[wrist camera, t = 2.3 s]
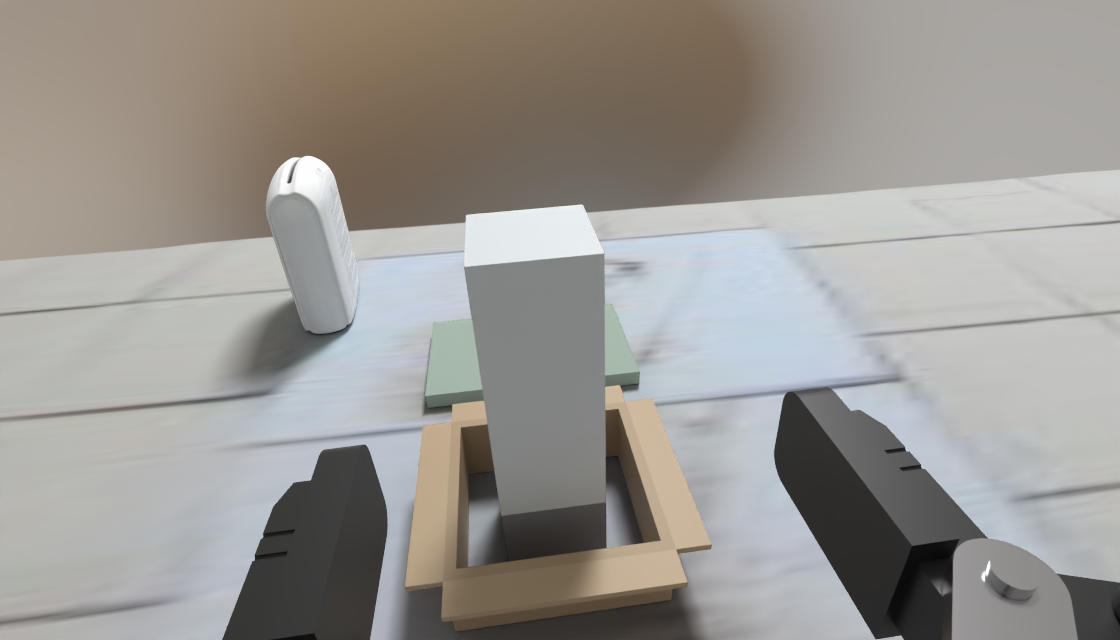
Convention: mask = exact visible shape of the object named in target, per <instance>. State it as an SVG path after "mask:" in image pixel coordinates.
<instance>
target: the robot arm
mask: <svg viewBox="0 0 1120 640" xmlns="http://www.w3.org/2000/svg"><path fill="white" fill-rule="evenodd" d="M774 458H775V465H776V469H777V472H778V475H779V478H780V480H781V482H782V484H783V485H784V487H785V489H786V490H787V492H788V494H789V495H790V497H791V499H792V500H793V502H794V504H795V505H796V507H797V509H798V510H799V512H800V514H801V515H802V517H803V519H804V520H805V522H806V524H807V525H808V527H809V529H810V530H811V532H812V534H813V535H814V537H815V539H816V540H817V542H818V544H819V545H820V547H821V549H822V550H823V552H824V554H825V555H826V557H827V559H828V560H829V562H830V564H831V565H832V567H833V569H834V570H835V572H836V574H837V575H838V577H839V579H840V580H841V582H842V584H843V585H844V587H845V589H846V590H847V592H848V594H849V595H850V597H851V599H852V600H853V602H854V604H855V605H856V607H857V609H858V610H859V612H860V614H861V615H862V617H863V619H864V620H865V622H866V624H867V625H868V627H869V629H870V630H871V632H872V634H873V635H874V637H875V639H881V638H887V637H894V636H900V635H902V637H903V639H904V640H1120V583H1117V582H1110V581H1103V580H1096V579H1089V578H1082V577H1075V576H1068V575H1061V574H1056V573H1055V572H1054V570H1053V569H1051V568H1050V567H1049V566H1048V565H1047V564H1046V563H1044V562H1043V561H1042V560H1040V559H1039V558H1038V557H1036V556H1034V555H1033V554H1031V553H1029V552H1028V551H1026V550H1024V549H1022V548H1020V547H1017V546H1015V545H1012V544H1010V543H1007V542H1003V541H999V540H994V539H988V538H987V537H986V536H985V535H984V534H983V533H982V532H981V530H980V529H979V528H978V527H977V526H976V525H975V524H974V523H973V522H972V520H971V519H970V518H969V517H968V516H967V515H966V514H965V513H964V512H963V511H962V509H961V508H960V507H959V506H958V505H957V504H956V503H955V502H954V501H953V499H952V498H951V497H950V496H949V495H948V494H947V493H946V492H945V491H944V490H943V488H942V487H941V486H940V485H939V484H938V483H937V482H936V481H935V480H934V479H933V477H932V476H931V475H930V474H929V473H928V472H927V471H926V470H925V469H922V468H921V464H920V463H919V462H918V461H917V460H916V459H915V458H914V456H913V455H912V454H911V453H910V452H906V450H905V446H904V445H903V444H902V443H901V442H900V441H899V440H898V439H897V438H896V437H895V435H894V434H893V433H892V432H891V431H890V430H889V429H888V428H887V427H886V426H885V425H883V424H882V423H880V422H878V421H877V420H875V419H874V418H872V417H870V416H869V415H867V414H866V413H864V412H862V411H861V410H855V411H850V410H849V408H848V407H847V406H846V405H845V404H844V403H843V401H842V400H841V399H840V398H839V397H838V396H837V394H836V393H835V392H834V391H833V390H831V389H830V388H828V387H822V388H815V389H807V390H799V391H791V392H788V393H786V395H785V397H784V399H783V404H782V410H781V415H780V421H779V427H778V432H777V438H776V444H775V450H774ZM386 537H387V509H386V503H385V499H384V496H383V493H382V490H381V486H380V483H379V480H378V477H377V474H376V470H375V467H374V464H373V461H372V458H371V454H370V451H369V449H368V447H367V446H366V445H358V446H350V447H342V448H334V449H327V450H323V451H322V452H321V453H320V455H319V458H318V461H317V464H316V467H315V470H314V473H313V476H312V479H311V481H303V482H296V483H293V484H292V486H291V487H290V488H289V489H288V490H287V491H286V493H285V494H284V495H283V496H282V497H281V499H280V500H279V501H278V502H277V503H276V504H275V506H274V507H273V509H272V512H271V514H270V517H269V519H268V522H267V525H266V527H265V530H264V532H263V539H261V540H260V543H259V545H258V548H257V551H256V553H255V561H252V564H251V566H250V569H249V572H248V574H247V577H246V579H245V582H244V585H243V587H242V590H241V592H240V595H239V598H238V600H237V603H236V605H235V608H234V611H233V613H232V616H231V618H230V621H229V624H228V626H227V629H226V631H225V634H224V637H223V639H222V640H370V636H371V630H372V624H373V617H374V611H375V605H376V599H377V593H378V586H379V580H380V574H381V568H382V562H383V556H384V549H385V543H386Z"/></svg>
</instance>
